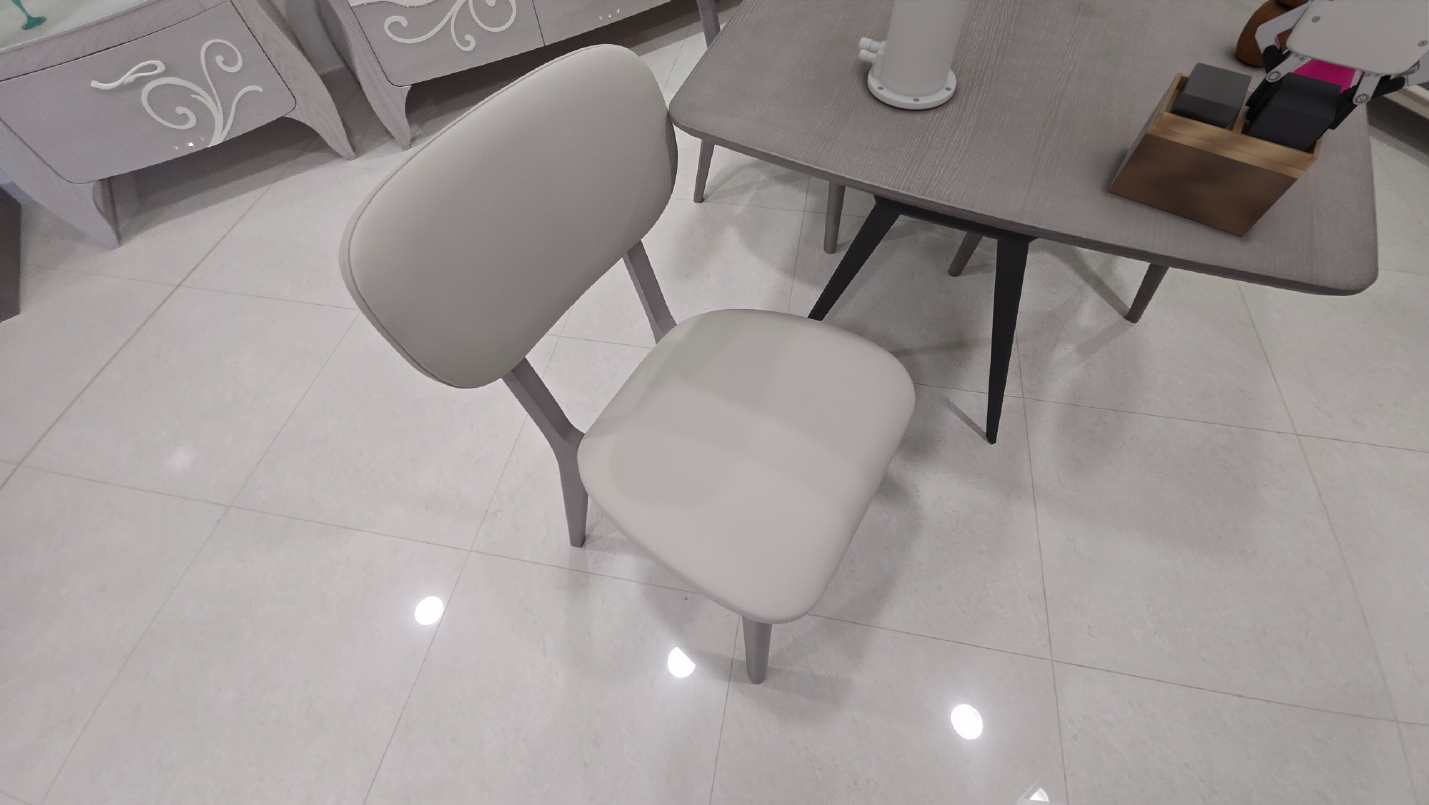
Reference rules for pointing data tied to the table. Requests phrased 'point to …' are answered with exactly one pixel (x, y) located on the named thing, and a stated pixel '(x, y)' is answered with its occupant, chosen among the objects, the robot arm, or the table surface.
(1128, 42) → the table surface
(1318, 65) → the pink bowling pin
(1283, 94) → the black block
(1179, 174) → the wooden divided box
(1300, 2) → the wooden figurine
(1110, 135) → the table surface
